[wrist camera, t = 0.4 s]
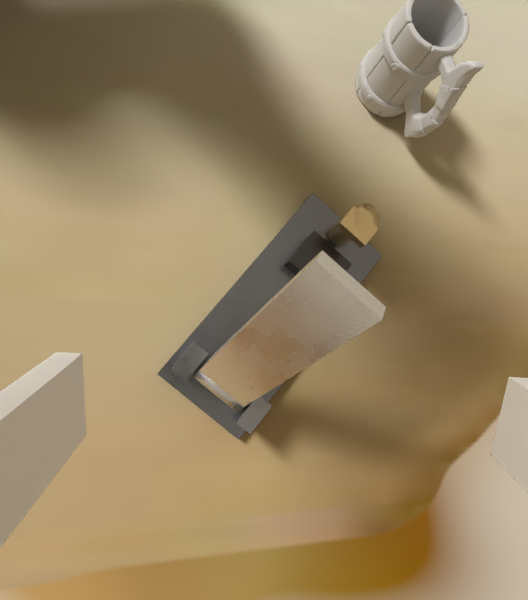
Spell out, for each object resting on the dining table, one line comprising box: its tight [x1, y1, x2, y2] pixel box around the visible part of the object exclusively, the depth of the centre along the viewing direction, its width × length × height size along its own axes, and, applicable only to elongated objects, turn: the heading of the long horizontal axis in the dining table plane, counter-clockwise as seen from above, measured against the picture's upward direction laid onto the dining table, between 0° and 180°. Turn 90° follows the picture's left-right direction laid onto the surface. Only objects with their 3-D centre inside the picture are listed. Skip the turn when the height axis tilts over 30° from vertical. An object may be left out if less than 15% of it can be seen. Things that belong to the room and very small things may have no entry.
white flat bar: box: [193, 250, 386, 413], centre depth 27 cm, size 18×5×2 cm
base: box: [158, 193, 382, 439], centre depth 35 cm, size 24×10×7 cm, turn 140°
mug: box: [355, 0, 484, 138], centre depth 37 cm, size 8×12×12 cm, turn 19°
